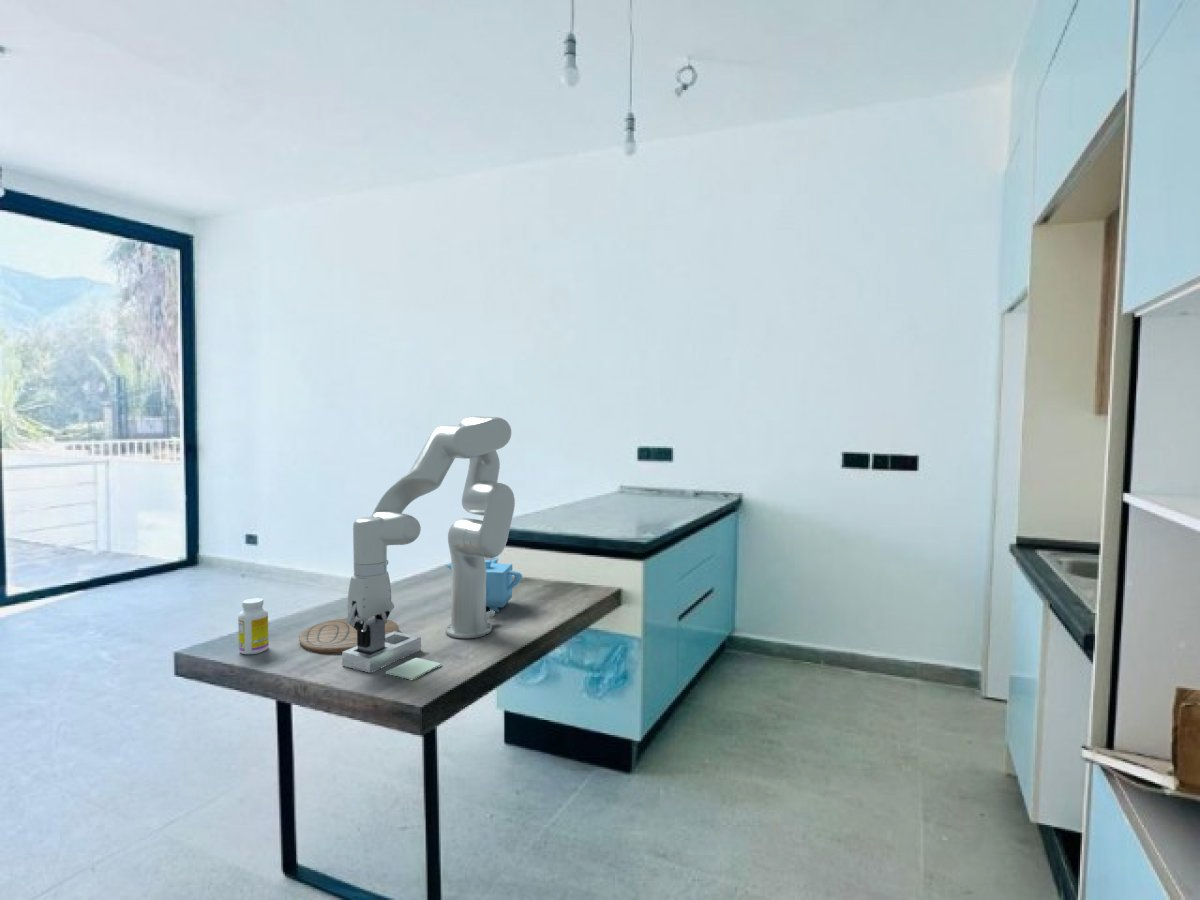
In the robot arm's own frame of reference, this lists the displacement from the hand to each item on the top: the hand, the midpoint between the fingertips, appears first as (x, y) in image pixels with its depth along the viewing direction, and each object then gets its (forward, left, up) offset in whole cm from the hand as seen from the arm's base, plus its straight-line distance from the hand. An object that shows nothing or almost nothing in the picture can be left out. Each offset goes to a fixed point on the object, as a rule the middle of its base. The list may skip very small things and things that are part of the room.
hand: (371, 642), depth 157 cm
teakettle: (-51, -5, -5) cm, 51 cm away
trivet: (-11, -19, -6) cm, 23 cm away
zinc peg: (0, 0, -5) cm, 5 cm away
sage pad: (-2, +12, -5) cm, 13 cm away
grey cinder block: (-4, 0, -5) cm, 6 cm away
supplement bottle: (+8, -32, -5) cm, 34 cm away
